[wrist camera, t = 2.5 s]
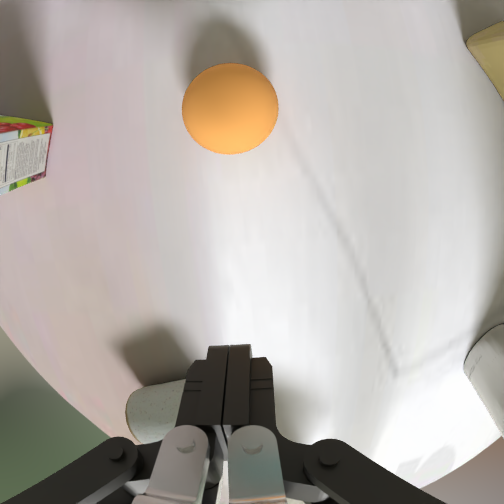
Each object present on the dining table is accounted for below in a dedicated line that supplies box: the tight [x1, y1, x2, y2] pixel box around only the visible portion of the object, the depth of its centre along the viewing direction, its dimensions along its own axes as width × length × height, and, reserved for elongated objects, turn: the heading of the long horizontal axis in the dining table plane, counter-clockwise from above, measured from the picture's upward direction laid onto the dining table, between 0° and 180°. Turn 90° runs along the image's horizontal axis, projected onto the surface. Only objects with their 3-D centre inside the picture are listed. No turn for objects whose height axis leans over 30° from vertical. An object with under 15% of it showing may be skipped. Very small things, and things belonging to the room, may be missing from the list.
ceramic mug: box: [125, 379, 186, 444], centre depth 28 cm, size 11×8×8 cm
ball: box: [182, 63, 278, 154], centre depth 17 cm, size 6×6×6 cm
